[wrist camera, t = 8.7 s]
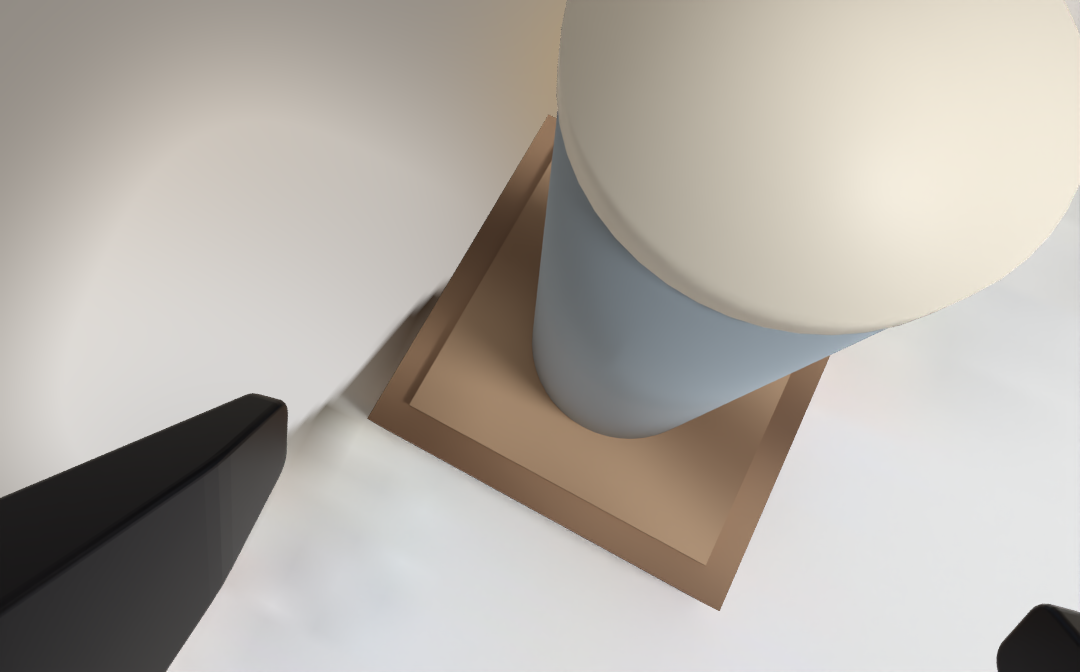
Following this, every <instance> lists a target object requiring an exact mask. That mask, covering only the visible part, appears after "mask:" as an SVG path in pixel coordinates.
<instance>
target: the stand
mask: <svg viewBox="0 0 1080 672" xmlns="http://www.w3.org/2000/svg"><path fill="white" fill-rule="evenodd" d="M556 120H557V118H555V117H553V116H550V115H548V117H547V118H546V120H545V121H544V123H543V125H542V126H541V128H540V130H539V132H538V133H537V135H536V137H535V138H534V140H533V142H532V143H531V145H530V147H529V148H528V150H527V152H526V153H525V155H524V157H523V158H522V160H521V162H520V164H519V165H518V167H517V168H516V170H515V172H514V174H513V175H512V177H511V178H510V180H509V182H508V183H507V185H506V187H505V188H504V190H503V192H502V194H501V195H500V197H499V199H498V200H497V202H496V204H495V205H494V207H493V209H492V211H491V212H490V214H489V215H488V217H487V219H486V221H485V222H484V224H483V225H482V227H481V229H480V230H479V232H478V234H477V236H476V237H475V239H474V241H473V242H472V244H471V246H470V247H469V249H468V251H467V252H466V254H465V256H464V257H463V259H462V261H461V263H460V264H459V266H458V267H457V269H456V271H455V272H454V274H453V276H452V277H451V279H450V281H449V282H448V284H447V286H446V287H445V289H444V291H443V292H442V294H441V296H440V297H439V299H438V301H437V303H436V304H435V306H434V308H433V309H432V311H431V313H430V314H429V316H428V318H427V319H426V321H425V323H424V324H423V326H422V328H421V329H420V331H419V333H418V334H417V336H416V338H415V339H414V341H413V343H412V344H411V346H410V348H409V349H408V351H407V353H406V355H405V356H404V358H403V360H402V361H401V363H400V365H399V366H398V368H397V370H396V371H395V373H394V375H393V376H392V378H391V380H390V381H389V383H388V385H387V386H386V388H385V390H384V391H383V393H382V395H381V396H380V398H379V400H378V401H377V403H376V405H375V407H374V408H373V410H372V412H371V413H370V415H369V417H368V418H367V419H369V420H371V421H372V422H374V423H376V424H377V425H379V426H381V427H383V428H384V429H386V430H388V431H390V432H392V433H394V434H395V435H397V436H399V437H401V438H403V439H404V440H406V441H408V442H410V443H412V444H414V445H415V446H417V447H419V448H421V449H423V450H425V451H426V452H428V453H430V454H432V455H434V456H436V457H437V458H439V459H441V460H443V461H445V462H446V463H448V464H450V465H452V466H454V467H456V468H457V469H459V470H461V471H463V472H465V473H467V474H468V475H470V476H472V477H474V478H476V479H478V480H479V481H481V482H483V483H485V484H487V485H488V486H490V487H492V488H494V489H496V490H498V491H499V492H501V493H503V494H505V495H507V496H509V497H510V498H512V499H514V500H516V501H518V502H520V503H521V504H523V505H525V506H527V507H529V508H530V509H532V510H534V511H536V512H538V513H540V514H541V515H543V516H545V517H547V518H549V519H551V520H552V521H554V522H556V523H558V524H560V525H562V526H563V527H565V528H567V529H569V530H571V531H572V532H574V533H576V534H578V535H580V536H582V537H583V538H585V539H587V540H589V541H591V542H593V543H594V544H596V545H598V546H600V547H602V548H604V549H605V550H607V551H609V552H611V553H613V554H615V555H616V556H618V557H620V558H622V559H624V560H625V561H627V562H629V563H631V564H633V565H635V566H636V567H638V568H640V569H642V570H644V571H646V572H647V573H649V574H651V575H653V576H655V577H657V578H658V579H660V580H662V581H664V582H666V583H667V584H669V585H671V586H673V587H675V588H677V589H678V590H680V591H682V592H684V593H686V594H688V595H689V596H691V597H693V598H695V599H697V600H699V601H700V602H702V603H704V604H706V605H708V606H710V607H712V608H714V609H716V610H718V611H720V609H721V606H722V604H723V602H724V600H725V597H726V595H727V593H728V590H729V588H730V586H731V583H732V581H733V579H734V576H735V574H736V572H737V569H738V567H739V565H740V563H741V560H742V558H743V556H744V553H745V551H746V549H747V546H748V544H749V542H750V539H751V537H752V535H753V532H754V530H755V528H756V526H757V523H758V521H759V519H760V516H761V514H762V512H763V509H764V507H765V505H766V502H767V500H768V498H769V495H770V493H771V491H772V489H773V486H774V484H775V482H776V479H777V477H778V475H779V472H780V470H781V468H782V465H783V463H784V461H785V458H786V456H787V454H788V452H789V449H790V447H791V445H792V442H793V440H794V438H795V435H796V433H797V431H798V428H799V426H800V424H801V421H802V419H803V417H804V415H805V412H806V410H807V408H808V405H809V403H810V401H811V398H812V396H813V394H814V391H815V389H816V387H817V385H818V382H819V380H820V378H821V375H822V373H823V371H824V368H825V366H826V364H827V361H828V359H829V357H830V355H829V356H827V357H825V358H823V359H821V360H818V361H816V362H814V363H812V364H810V365H808V366H806V367H804V368H801V369H799V370H797V371H795V372H793V373H791V374H789V375H786V376H784V377H782V378H780V379H778V380H776V381H774V382H771V383H769V384H767V385H765V386H763V387H761V388H759V389H756V390H754V391H752V392H750V393H748V394H746V395H744V396H741V397H739V398H737V399H735V400H733V401H731V402H729V403H726V404H724V405H722V406H720V407H718V408H716V409H714V410H711V411H709V412H707V413H705V414H703V415H701V416H699V417H696V418H694V419H692V420H690V421H688V422H686V423H684V424H682V425H679V426H677V427H675V428H673V429H671V430H669V431H666V432H663V433H661V434H658V435H654V436H650V437H646V438H636V439H624V438H615V437H609V436H605V435H602V434H598V433H595V432H593V431H591V430H589V429H586V428H584V427H582V426H581V425H579V424H578V423H576V422H574V421H573V420H571V419H570V418H569V417H568V416H567V415H565V414H564V413H563V412H562V411H561V410H560V409H559V408H558V407H557V406H556V405H555V404H554V403H553V401H552V400H551V398H550V397H549V396H548V394H547V393H546V391H545V389H544V387H543V385H542V383H541V382H540V379H539V377H538V374H537V371H536V368H535V364H534V359H533V351H532V334H533V324H534V315H535V307H536V298H537V289H538V280H539V271H540V262H541V253H542V244H543V236H544V227H545V218H546V209H547V200H548V191H549V182H550V173H551V164H552V156H553V147H554V138H555V129H556Z"/></svg>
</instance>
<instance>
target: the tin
mask: <svg viewBox="0 0 1080 672" xmlns="http://www.w3.org/2000/svg"><path fill="white" fill-rule="evenodd" d="M557 72H558V73H557V94H556V96H557V105H558V111H557V120H556V129H555V138H554V147H553V156H552V164H551V173H550V182H549V191H548V200H547V209H546V218H545V227H544V236H543V244H542V253H541V262H540V271H539V280H538V289H537V298H536V307H535V315H534V324H533V334H532V351H533V359H534V364H535V368H536V371H537V374H538V377H539V379H540V382H541V383H542V385H543V387H544V389H545V391H546V393H547V394H548V396H549V397H550V398H551V400H552V401H553V403H554V404H555V405H556V406H557V407H558V408H559V409H560V410H561V411H562V412H563V413H564V414H565V415H567V416H568V417H569V418H570V419H571V420H573V421H574V422H576V423H578V424H579V425H581V426H582V427H584V428H586V429H589V430H591V431H593V432H595V433H598V434H602V435H605V436H609V437H615V438H624V439H636V438H646V437H650V436H654V435H658V434H661V433H663V432H666V431H669V430H671V429H673V428H675V427H677V426H679V425H682V424H684V423H686V422H688V421H690V420H692V419H694V418H696V417H699V416H701V415H703V414H705V413H707V412H709V411H711V410H714V409H716V408H718V407H720V406H722V405H724V404H726V403H729V402H731V401H733V400H735V399H737V398H739V397H741V396H744V395H746V394H748V393H750V392H752V391H754V390H756V389H759V388H761V387H763V386H765V385H767V384H769V383H771V382H774V381H776V380H778V379H780V378H782V377H784V376H786V375H789V374H791V373H793V372H795V371H797V370H799V369H801V368H804V367H806V366H808V365H810V364H812V363H814V362H816V361H818V360H821V359H823V358H825V357H827V356H829V355H831V354H833V353H836V352H838V351H840V350H842V349H844V348H846V347H848V346H851V345H853V344H855V343H857V342H859V341H861V340H863V339H866V338H868V337H870V336H872V335H874V334H876V333H878V332H881V331H883V330H885V329H887V328H890V327H895V326H899V325H902V324H905V323H908V322H910V321H913V320H916V319H919V318H921V317H924V316H927V315H929V314H932V313H934V312H936V311H938V310H941V309H943V308H945V307H947V306H949V305H952V304H954V303H956V302H958V301H960V300H963V299H965V298H967V297H969V296H971V295H973V294H975V293H977V292H979V291H980V290H982V289H984V288H986V287H988V286H990V285H991V284H993V283H995V282H997V281H999V280H1001V279H1002V278H1003V277H1005V276H1006V275H1007V274H1008V273H1010V272H1011V271H1012V270H1014V269H1015V268H1016V267H1018V266H1019V265H1020V264H1022V263H1023V262H1024V261H1026V260H1027V259H1028V258H1029V257H1030V256H1031V255H1032V254H1033V253H1034V252H1035V251H1036V250H1037V248H1038V247H1039V246H1040V245H1041V244H1042V243H1043V242H1044V241H1045V240H1046V239H1047V238H1048V237H1049V236H1050V234H1051V233H1052V232H1053V230H1054V229H1055V227H1056V226H1057V224H1058V223H1059V221H1060V220H1061V219H1062V217H1063V216H1064V214H1065V213H1066V211H1067V210H1068V208H1069V206H1070V203H1071V201H1072V199H1073V197H1074V195H1075V193H1076V191H1077V189H1078V187H1079V185H1080V34H1079V31H1078V29H1077V27H1076V24H1075V22H1074V20H1073V18H1072V16H1071V14H1070V11H1069V9H1068V7H1067V5H1066V3H1065V1H1064V0H567V2H566V8H565V13H564V18H563V23H562V29H561V38H560V48H559V59H558V70H557Z"/></svg>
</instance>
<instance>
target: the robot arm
mask: <svg viewBox="0 0 1080 672" xmlns="http://www.w3.org/2000/svg"><path fill="white" fill-rule="evenodd" d="M287 411H288V410H287V406H286V404H285V403H284V402H283V401H282V400H278V399H275V398H271V397H268V396H264V395H260V394H253V393H252V394H247V395H244V396H242V397H240V398H237V399H235V400H233V401H231V402H228V403H225V404H223V405H221V406H219V407H216V408H214V409H211V410H209V411H206V412H204V413H202V414H199V415H197V416H195V417H192V418H190V419H187V420H185V421H183V422H180V423H178V424H175V425H173V426H171V427H168V428H166V429H164V430H161V431H159V432H156V433H154V434H152V435H149V436H147V437H144V438H142V439H140V440H138V441H135V442H133V443H130V444H128V445H125V446H123V447H121V448H118V449H116V450H114V451H111V452H109V453H106V454H104V455H102V456H99V457H97V458H95V459H92V460H90V461H87V462H85V463H83V464H80V465H78V466H75V467H73V468H71V469H68V470H66V471H64V472H61V473H59V474H57V475H54V476H52V477H49V478H47V479H45V480H42V481H40V482H37V483H35V484H33V485H30V486H28V487H25V488H23V489H21V490H18V491H16V492H14V493H11V494H9V495H6V496H4V497H2V498H0V672H166V671H167V669H168V668H169V666H170V665H171V663H172V662H173V660H174V659H175V657H176V656H177V654H178V653H179V651H180V650H181V648H182V647H183V645H184V644H185V642H186V641H187V639H188V638H189V636H190V635H191V633H192V632H193V630H194V629H195V627H196V626H197V624H198V623H199V621H200V620H201V618H202V617H203V615H204V614H205V612H206V611H207V609H208V608H209V606H210V605H211V603H212V601H213V600H214V598H215V597H216V595H217V593H218V592H219V590H220V589H221V587H222V585H223V584H224V582H225V580H226V578H227V576H228V574H229V573H230V571H231V569H232V567H233V565H234V563H235V561H236V559H237V557H238V556H239V554H240V552H241V550H242V548H243V546H244V544H245V542H246V540H247V538H248V536H249V534H250V532H251V530H252V528H253V526H254V525H255V523H256V521H257V519H258V517H259V515H260V513H261V511H262V509H263V507H264V505H265V503H266V501H267V499H268V497H269V495H270V494H271V492H272V490H273V488H274V486H275V484H276V482H277V480H278V478H279V476H280V474H281V472H282V469H283V467H284V463H285V460H286V453H287V421H288V412H287ZM997 670H998V672H1080V613H1079V612H1077V611H1074V610H1070V609H1066V608H1063V607H1059V606H1055V605H1051V604H1040V605H1038V606H1035V607H1034V608H1033V609H1031V610H1030V612H1029V613H1028V614H1027V615H1026V616H1025V617H1024V618H1023V619H1022V621H1021V622H1020V623H1019V624H1018V625H1017V626H1016V627H1015V628H1014V630H1013V631H1012V632H1011V633H1010V634H1009V635H1008V636H1007V637H1006V638H1005V640H1004V641H1003V642H1002V643H1001V645H1000V647H999V649H998V653H997Z"/></svg>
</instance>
